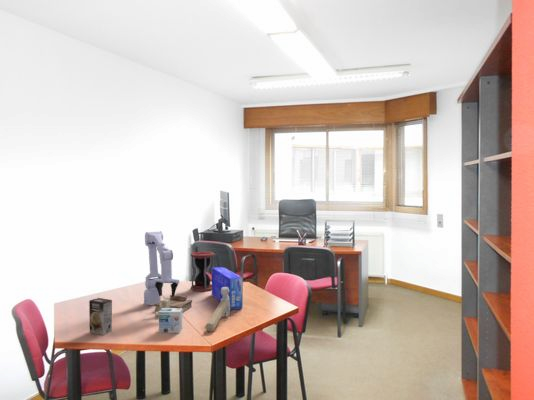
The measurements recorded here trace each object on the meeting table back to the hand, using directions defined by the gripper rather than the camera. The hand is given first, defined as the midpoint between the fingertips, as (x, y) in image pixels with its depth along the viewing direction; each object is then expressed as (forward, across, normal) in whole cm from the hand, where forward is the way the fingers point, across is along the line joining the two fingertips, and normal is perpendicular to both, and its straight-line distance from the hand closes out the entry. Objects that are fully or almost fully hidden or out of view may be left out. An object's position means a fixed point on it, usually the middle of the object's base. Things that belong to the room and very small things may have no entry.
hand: (166, 295), depth 248 cm
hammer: (+12, +33, -8) cm, 36 cm away
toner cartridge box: (+10, +24, +34) cm, 43 cm away
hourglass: (+9, -2, +60) cm, 61 cm away
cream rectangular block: (+10, -1, 0) cm, 10 cm away
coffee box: (+11, -19, -35) cm, 41 cm away
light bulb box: (+12, +14, -25) cm, 31 cm away
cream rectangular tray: (+10, -1, +7) cm, 12 cm away
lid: (+7, -1, +10) cm, 12 cm away
